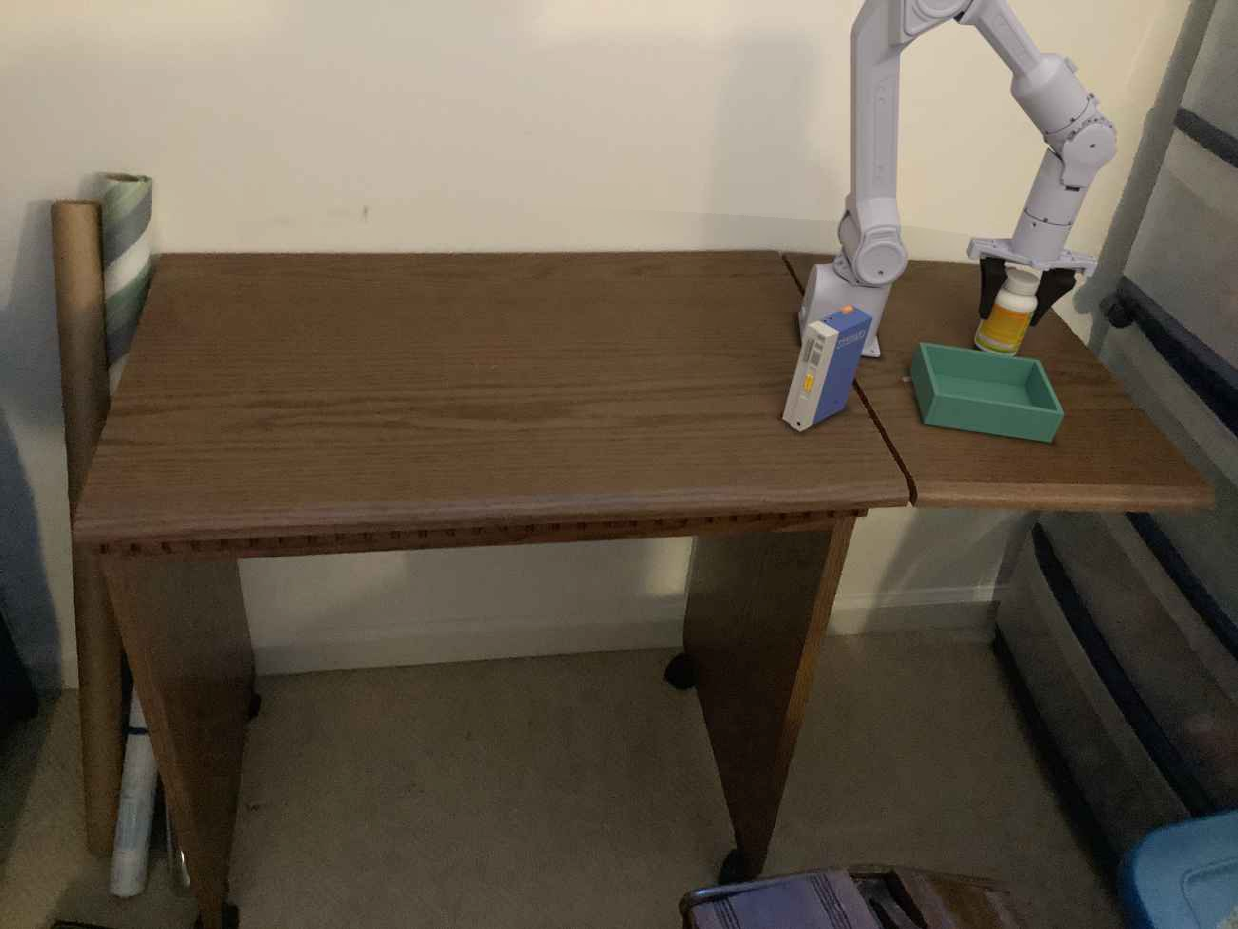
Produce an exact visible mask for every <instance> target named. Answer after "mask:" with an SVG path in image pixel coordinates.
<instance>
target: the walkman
mask: <svg viewBox="0 0 1238 929" xmlns="http://www.w3.org/2000/svg"><path fill="white" fill-rule="evenodd" d="M872 318H873V317H872V316H870V315H868V314H866V313H865V312H863V311H861V310H859V309H857V308H855V307H854V306H847V307H845V308H843V309H842V310H841V311H839V312H836V313H834V314H832V315H829V316H827V317H825V318H822V319H820V320H818V321H816V322H813V323H811V324H809V325H808V326H807V329H806V333H805V337H804V340H803V344H802V343H801V348H800V352H799V355H798V359H797V361H796V366H795V369H794V372H793V373H794V374H793V376H792V377H793V378H792V381H791V385H790V389H789V393H788V395H787V399H786V403H785V406H784V411H783V415H782V418H781V419H782V420H784V421H785V422H786V423H788V424H790V426H791V427H792V428H793V429H795V430H797V431H798V432H802V431H805V430H807V429H808V428H810V427H812V426H814V425H815V424H817V423H819V422H821V421H823V420H825V419H827V418H829V417H830V416H833V415H834V414H836V413H838V412H841V411H842V410H844V409H845V406H846V403H847V402H848V398H849V394H850V391H851V389H852V385H853V382H854V378H855V375H856V372H857V369H858V365H859V363H860V359H861V356H862V355H861V353H862V350H863V347H864V344H865V340H866V337H867V334H868V331H869V328H870V325H871V321H872Z"/></svg>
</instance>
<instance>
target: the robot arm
mask: <svg viewBox="0 0 1238 929" xmlns="http://www.w3.org/2000/svg"><path fill="white" fill-rule="evenodd" d="M951 19H953V21H955V22H956V23H957V24H958V25H962V26H972V27H973V26H974V27H975V29H976V30H977V32H978V33H979V34H980V35H981V36H982V38H983V39H984V40H985V41H986V42H987V43H988V44H989V46H990V47H991V49H993V51H994V52H995V53H996V54H997V56H998V57H999V58H1000V59H1001V61H1002V62H1003V63H1004V64H1005V65H1006V66H1007V68H1008V69H1009V70H1010V71H1011V73H1012V77H1011V82H1010V87H1009V91H1010V92H1009V93H1010V95H1011V96H1012V97H1013V99H1014V100H1015V101H1016V103H1017V104H1018V105H1019V106H1020V108H1021V109H1022V111H1023V112H1024V113H1025V114H1026V116H1027V117H1028V118H1029V119H1030V121H1031V122H1032V124H1033V125H1034V126H1035V128H1037V130H1038V131H1039V133H1040V134H1041V135H1042V139H1043V142H1044V143H1045V144H1047V145H1048V146H1049V147H1046V150H1045V152H1044V154H1043V158H1042V159H1041V162H1040V165H1039V168H1038V170H1037V172H1036V175H1035V177H1034V180H1033V183H1032V185H1031V187H1030V190H1029V192H1028V195H1027V198H1026V201H1025V203H1024V205H1023V208H1022V210H1021V213H1020V215H1019V218H1018V221H1017V222H1016V223H1017V224H1016V225H1015V228H1014V230H1013V234H1012V236H1011V238H1010V237H1009V238H1008V237H1005V238H1004V237H1002V238H998V237H997V238H995V237H994V238H986V237H974V236H973V237H972V236H971V237H970V240H969V241H968V242H969V243H968V245H967V248H966V250H965V252H966V255H967V257H968V259H969V260H973V261H978V260H979V267H980V277H981V278H980V279H981V280H980V281H981V287H980V299H979V306H978V310H977V311H978V315H979V317H980V319H986V320H987V319H988V317H989V315H990V313H991V310H992V307H993V304H994V302H995V299H996V297H997V295H998V293H999V291H1000V289H1001V287H1002V285H1003V284H1004V282H1005V281H1006V279H1007V278H1008V276H1007V274H1006V273H1007V271H1006V269H1007V265H1006V263H1008V264H1014V265H1019V266H1020V265H1021V266H1028V267H1030V268H1031V269H1032V270H1037V271H1042V272H1041V275H1040V278H1039V280H1040V284H1039V287H1038V289H1037V291H1036V293H1035V294H1034V295H1035V296H1036V298H1037V302H1038V303H1037V307H1036V309H1035V312H1034V314H1033V316H1032V319H1031V321H1030V323H1029V326H1028V327H1033V328H1035V327H1036V326H1037V325H1038V324H1039V322H1040V320H1041V319H1042V318H1043V317H1044V316H1045V314H1046V313H1047V312H1048V311H1049V310H1050V309H1051V308H1052V306H1054V305H1055V304H1056V303H1057V302H1059V300H1060V299H1061V298H1062V297H1064V296H1065V295H1066V294H1068V293H1069V292H1071V291H1073V289H1074V288H1075V287H1076V285H1077V283H1078V282H1077V278H1076V277H1075V276H1076V274H1079V275H1080V276H1082V277H1084V278H1092V277H1093V275H1094V273H1095V271H1096V268H1097V267H1098V261H1097V259H1096V258H1095V256H1094V255H1091V254H1085V253H1081V252H1077V251H1075V250H1070V249H1067V248H1064V247H1065V245H1066V243H1067V240H1068V238H1069V235H1070V234H1071V231H1072V228H1073V226H1074V223H1075V222H1076V220H1077V217H1078V214H1079V212H1080V210H1081V208H1082V206H1083V204H1084V200H1085V198H1086V195H1087V193H1088V191H1089V189H1090V187H1091V184H1092V183H1093V182H1094V179H1095V177H1096V175H1097V173H1098V172H1099V171H1100V170H1101V169H1102V168H1103V167H1105V166H1106V165H1108V164H1109V163H1110V162H1111V161H1112V160H1113V159H1114V157H1116V154H1117V152H1118V150H1119V147H1117V145H1116V144H1117V140H1118V138H1117V135H1118V132H1117V129H1116V128H1117V127H1116V126H1115V125H1114V123H1113V122H1112V121H1111V120H1110V119H1109V118H1108V117H1106V116H1105V115H1104V114H1103V113H1101V111H1099V110H1098V109H1097V106H1098V105H1099V104H1100V99H1099V98H1098V96H1097V95H1096V94H1095V93H1094V92H1088V91H1087V90H1086V89H1085V87H1084V85H1083V84H1082V83H1081V82H1080V80H1079V78H1078V77H1077V76H1076V75H1075V74H1074V73H1076V72H1078V70H1079V67H1078V66H1077V64H1076V63H1075V62H1074V60H1073V59H1072V58H1070V57H1069V56H1066V57H1065V58H1063V57H1062V55H1061V54H1059V53H1057V52H1041V51H1040V50H1039V48H1038V47H1037V44H1035V42H1034V41H1033V39H1032V38H1031V36H1030V35H1029V33H1028V31H1027V30H1026V29H1025V27H1024V26H1023V24H1022V23H1021V21H1020V20H1019V18H1018V16H1017V15H1016V14H1015V12H1014V11H1013V10H1012V8H1011V7H1010V5H1009V3H1008V2H1007V0H864V1H863V4H862V6H861V7H860V10H859V12H858V13H857V16H856V17H855V19H854V21H853V23H852V24H851V29H850V35H849V71H850V72H849V75H850V76H849V87H850V88H849V98H850V100H849V102H850V103H849V104H850V105H849V111H850V112H849V115H850V116H849V120H850V122H849V125H850V126H849V129H850V130H849V134H850V135H849V136H850V137H849V140H850V142H849V143H850V144H849V146H850V147H849V160H850V161H849V162H850V163H849V166H850V167H849V171H850V172H849V173H850V174H849V175H850V176H849V178H850V180H849V189H850V192H849V193H848V194H847V195H846V196H845V200H844V201H845V205H844V211H843V214H842V217H840V220H839V222H838V225H837V230H836V232H837V233H836V234H837V235H836V236H837V239H838V241H839V244H840V245H841V248H840V251H839V252H838V253H837V255H836V256H835V258H834V260H833V262H831V263H814V264H813V266H812V268H811V270H810V274H809V277H808V281H807V284H806V288H805V292H804V296H803V299H802V304H801V306H800V310H799V312H798V315H797V317H798V324H799V325H798V326H799V332H800V333H799V334H800V343H801V345H802V344H803V340H804V337H805V333H806V329H807V326H808V325H809V324H811V323H813V322H816V321H818V320H820V319H822V318H825V317H827V316H829V315H832V314H834V313H836V312H839V311H841V310H842V309H843V308H845V307H847V306H854V307H855V308H857V309H859V310H861V311H863V312H865V313H866V314H868V315H870V316H872V317H873V318H872V321H871V325H870V328H869V331H868V334H867V337H866V340H865V344H864V347H863V350H862V353H861V356H866V357H872V358H879V357H880V356H881V350H880V346H879V342H878V341H879V340H878V336H877V332H878V329H879V327H880V323H881V319H882V317H883V313H884V310H885V307H886V304H887V302H888V299H889V295H890V292H891V289H892V286H893V283H894V282H895V281H896V280H898V279H899V278H900V277H901V275H902V274H903V273H904V272H905V270H906V268H907V265H908V263H909V250H908V248H907V245H906V244H905V243H904V241H903V239H902V235H901V229H902V228H901V226H902V225H901V220H900V219H901V218H900V213H899V208H898V202H897V201H898V200H897V180H898V178H897V176H898V146H899V145H898V143H899V112H900V111H899V108H900V79H901V78H900V77H901V74H900V73H901V54H902V52H903V51H904V50H905V49H906V48H907V47H908V46H910V45H911V44H912V43H913V42H914V41H915V40H917V38H919V37H920V36H922V35H924V34H925V33H928V32H929V31H932V30H933V29H935V28H937V27H939V26H941V25H942V24H945V23H947V22H949V21H950V20H951Z"/></svg>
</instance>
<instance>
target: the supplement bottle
mask: <svg viewBox="0 0 1238 929" xmlns="http://www.w3.org/2000/svg"><path fill="white" fill-rule="evenodd" d="M1006 274H1007V276H1008V278H1007V279H1006V281H1005V282H1004V284H1003V285H1002V287H1001V289H1000V291H999V293H998V295H997V297H996V299H995V302H994V304H993V307H992V310H991V313H990V315H989V317H988V319H987V320H986V319H982V318H980V322H979V324H978V326H977V329H976V331H975V334H974V338H973V342H974V344H975V345H976V347H977V348H978V349H980V351H983V352H989V353H996V354H1002V355H1009V356H1015V355H1016V354H1017V353H1018V351H1019V349H1020V347H1021V344H1022V342H1023V340H1024V338H1025V335H1026V333H1027V331H1028V328H1029V327H1030V326H1029V323H1030V321H1031V319H1032V316H1033V314H1034V312H1035V309H1036V307H1037V303H1038V302H1037V298H1036V296H1035V294H1036V291H1037V289H1038V287H1039V284H1040V278H1039V277H1038V276H1037V275H1036V274H1033V273H1031V272H1029V271H1027V270H1023V269H1019V268H1018V269H1017V268H1012V269H1008V270H1007V271H1006Z"/></svg>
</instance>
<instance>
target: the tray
mask: <svg viewBox="0 0 1238 929" xmlns="http://www.w3.org/2000/svg"><path fill="white" fill-rule="evenodd" d="M908 370H909V373H910V377H911V380H912V384H913V387H914V388H913V389H914V393H915V396H916V400H917V403H918V406H919V410H920V415H921V418H922V421H923V424H924V425H931V426H938V427H944V428H950V429H957V430H963V431H970V432H976V433H982V434H983V433H984V434H991V435H996V436H997V435H998V436H1004V437H1010V438H1017V439H1023V440H1030V441H1036V442H1042V443H1049V444H1051V443H1052V442H1053V439H1054V437H1055V435H1056V433H1057V431H1058V429H1059V427H1060V424H1061V423H1062V420H1063V419H1064V416H1065V412H1064V410H1063V408H1062V405H1061V403H1060V401H1059V399H1058V397H1057V395H1056V393H1055V390H1054V388H1053V386H1052V384H1051V382H1050V380H1049V378H1048V375H1047V374H1046V372H1045V369H1044V367H1043V365H1042V363H1041V361H1040V359H1034V358H1029V357H1021V356H1017V355H1016V356H1015V355H1014V356H1009V355H1002V354H996V353H989V352H984V351H982V350H975V349H970V348H962V347H957V346H956V347H955V346H949V345H944V344H936V343H929V342H923V341H919V342H918V344H917V347H916V350H915V353H914V356H913V358H912V361H911V364H910V367H909V369H908Z"/></svg>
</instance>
